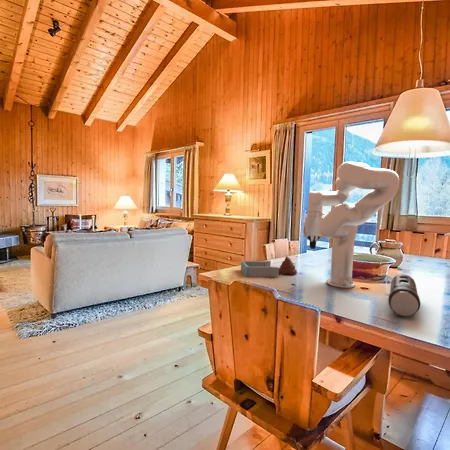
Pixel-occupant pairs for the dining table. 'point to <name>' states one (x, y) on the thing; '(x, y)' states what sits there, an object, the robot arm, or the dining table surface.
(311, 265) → the dining table surface
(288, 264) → the poop emoji
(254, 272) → the grey tray
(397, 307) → the muzzle brake
